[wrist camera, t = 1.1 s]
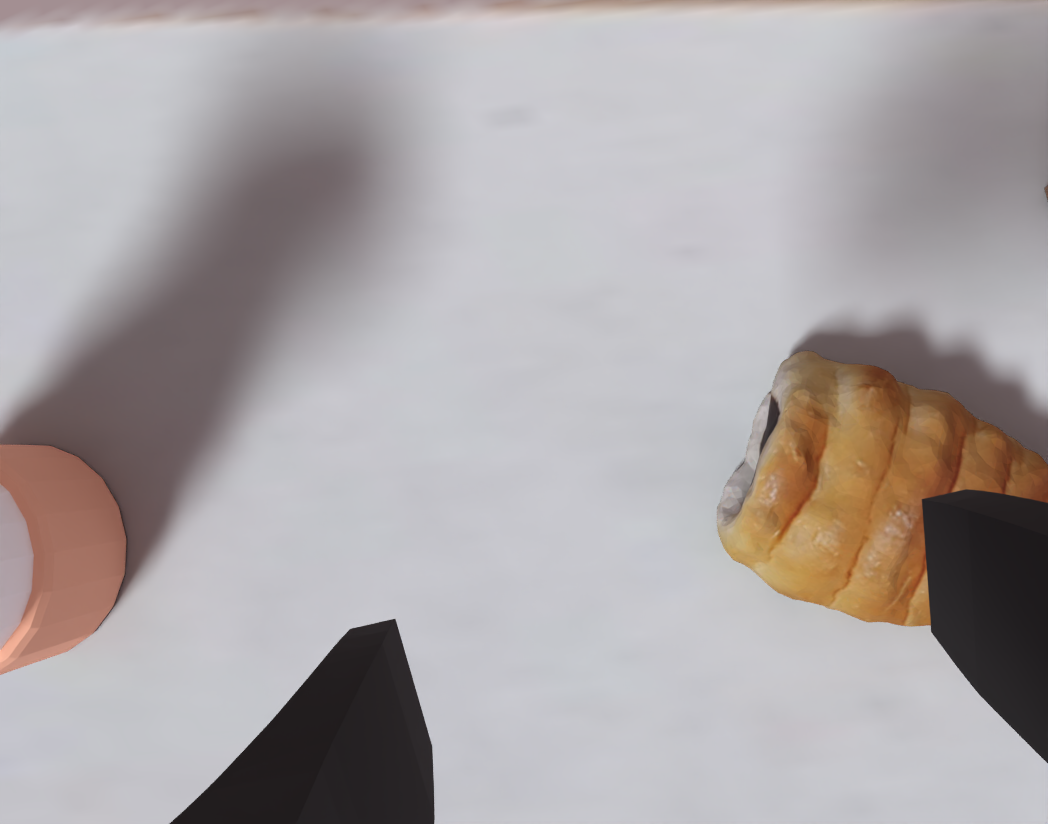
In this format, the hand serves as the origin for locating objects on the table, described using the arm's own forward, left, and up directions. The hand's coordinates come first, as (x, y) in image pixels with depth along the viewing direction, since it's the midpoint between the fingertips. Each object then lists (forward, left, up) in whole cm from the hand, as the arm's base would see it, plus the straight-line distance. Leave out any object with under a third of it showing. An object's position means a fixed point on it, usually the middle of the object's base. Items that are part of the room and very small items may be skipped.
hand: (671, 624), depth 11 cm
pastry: (0, -6, -14) cm, 15 cm away
